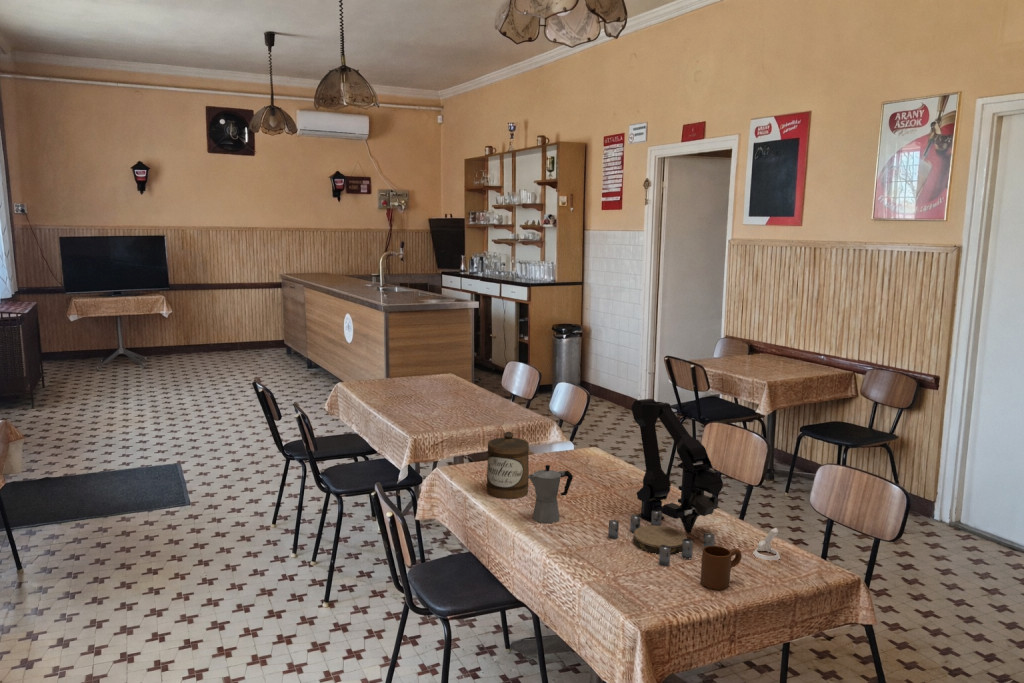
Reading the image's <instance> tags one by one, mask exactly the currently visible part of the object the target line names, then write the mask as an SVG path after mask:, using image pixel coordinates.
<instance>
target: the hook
mask: <svg viewBox="0 0 1024 683" xmlns="http://www.w3.org/2000/svg"><path fill="white" fill-rule="evenodd" d="M778 533H779V530H778V528H777V527H775V528H772V529H770V531H769V532H768V534H767V535H766V536H765V538H764V539H763V540H761V541H759V542H758V543H757V548H755V550H754V551H753V553H752V555H753V554H754V555H755V556H756V557H758V558H761V559H764V560H770V561H771V560H778V559H780V560H781V556H780V553H779V552H778V550H776V549H773V548H772V542H773V540H774V538H776V536H777V534H778ZM761 550H763V551H768V552H767V553H769V552H772V553H774V554H773V555H766V554H762V553H761V552H757V551H761ZM772 553H771V554H772ZM775 554H776V555H775Z"/></svg>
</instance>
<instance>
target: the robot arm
mask: <svg viewBox="0 0 1024 683" xmlns="http://www.w3.org/2000/svg"><path fill="white" fill-rule="evenodd" d="M631 412H632V416H633V419H634V421H635V422H636V424H637V425H638V427H639V429H640V437H641V443H642V444H641V445H642V450H643V451H642V452H643V458H644V464H645V473H644V475H643V478H642V487H641V488H640V489H639V490H638V491H637V492H636V498H637V500H639V501H641V508H640V513H637V515H639V516H641V518H640V519H644V520H646V521H648V522H650V523H651V519H652V510H655V509H656V510H660V511H661V520H663V519H665V516H664V515H666V516H668V517H670V518H672V519H675V520H676V519H680V521H681V523H682V526H683V528H684V530H685V533H686V534H691V533H692V530H693V527H694V525H695V523H696V521H697V519H698V517H700V516H702V517H706V516H708V515H713V513H714V511H715V510H716V509H718V508H719V507H718V506H719V497H717V496H716V495H719V493H720V492H721V491H722V489H723V486H724V482H723V479H722V477H721V476H719V471H717V470H712V469H714V468H713V464H712V462H711V460H710V458H709V455H708V452H707V450H706V447H705V446H704V445H703V444H702V443H701V441H699V440H698V439H697V438H695V437H694V436H691V434H690V433H689V432H688V431H687V429H686V428H685V426H684V425H683V423H682V422H681V421H680V419H679V418H678V416H677V415H676V413H675V412H674V411H673V408H672V406H671V404H670V403H669V402H663V401H656V400H655V399H653V398H644V399H642V398H641V399H636V400H634V401H633V404H631ZM658 419H659V420H660V422H661V423H662V425H663V426H664V428H665V429H666V431H667V433H668V434H669V435H670V437H671V439H672V440H673V441H674V443H675V444H676V445H675V446H676V453H677V455H678V457H679V458H680V461H681V462H680V463H678V465H677V467H678V468H680V469H682V473H681V485H680V486H678V490H679V491H681V492H680V498H677V503H679V504H680V505H679V504H676V503H673V502H670V503H666V504H663V501H662V500H667V498H668V495H669V494H670V492H671V487H672V484H671V482H670V475H669V473H666V472H664V470H663V468H662V464H661V456H660V449H659V443H658V442H659V441H658V435H657V430H656V428H657V427H656V424H657V422H658ZM705 492H706V493H709V494H710V495H713V496H708V495H705ZM662 504H663V505H662ZM662 514H663V515H662Z"/></svg>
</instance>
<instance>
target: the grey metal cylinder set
mask: <svg viewBox="0 0 1024 683" xmlns="http://www.w3.org/2000/svg"><path fill="white" fill-rule="evenodd" d="M641 519H642V518H641V516H639V515H638V514H631V515H630V527H629V528H630V529H629V532H630V533H631V532H632V533H631V534H634V531H635V530H636V529H638V528H639V527H641ZM650 523H651V524H650V526H652V525H654V526H662V524H661V523H662V519H661V511H660V510H656V509H655V510H652V519H651V522H650ZM619 526H620V522H619V520H616V519H610V520H608V535H607V537H608V538H609V539H610V538H612V539H611V540H617V539H618V538H619ZM616 538H617V539H616ZM693 544H694V540H693V539H691V538H687V539H683V540H682V553H681V556H682V557H683V558H686V559H685V560H690V559H689V558H692V559H693V546H694V545H693ZM702 544H703V546H702V549H703V548H704V547H706V546H715V534H714V533H711V532H705V533H703V543H702ZM670 549H671V547H670V546H667V545H661V546H660V551H659V556H658V564H659V566H661V567H669V566H670V561H671V555H670ZM682 557H681V558H682ZM683 558H682V559H683ZM668 565H669V566H668Z"/></svg>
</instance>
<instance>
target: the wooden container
mask: <svg viewBox="0 0 1024 683" xmlns="http://www.w3.org/2000/svg"><path fill="white" fill-rule="evenodd" d="M529 446H530V445H529V442H528V441H527V440H525V439H523V438H517V437H514V433H512V432H511V431H506V432H504V434H503V437H498V438H493V439H490V440H489V441H488V442H487V466H486V468H487V472H486V492H488V493H489V494H488V493H487V494H488V495H489V496H491V495H492V497H494V496H495V497H494V498H498V497H499V498H498V499H505V498H512V499H519V498H522V497H525V496H527V495H528V493H529V478H528V476H529V475H530V474H529V472H530V471H529V468H530V467H529V466H530V465H529V459H530V458H529V457H530V454H529V451H530V450H529Z"/></svg>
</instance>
